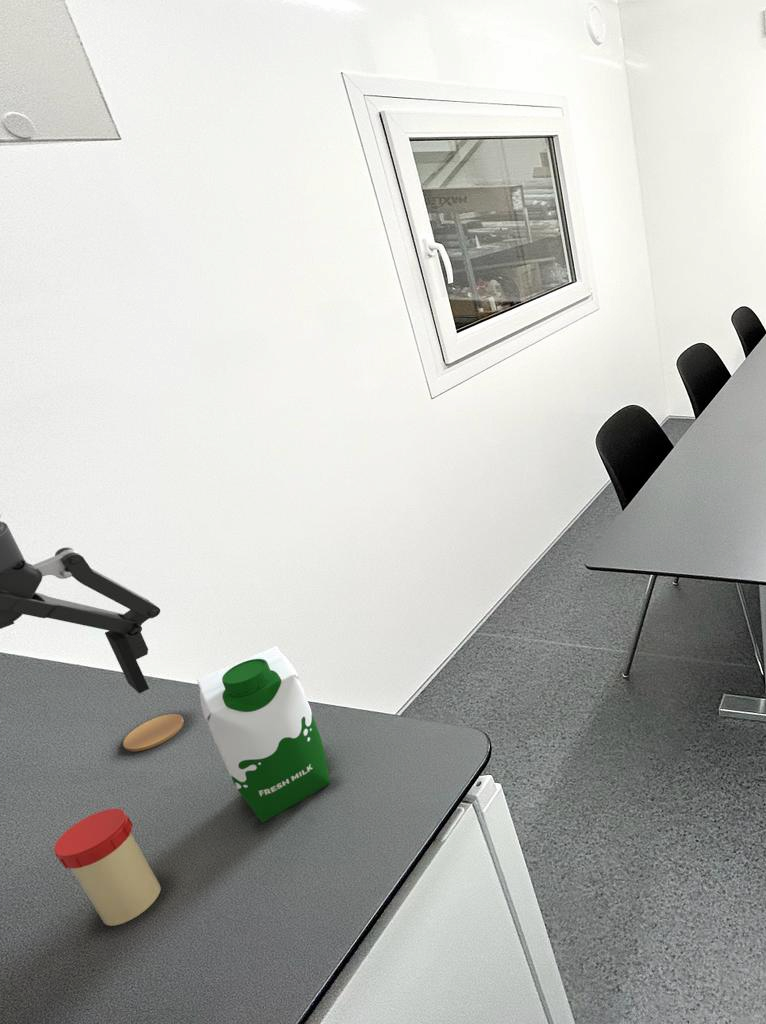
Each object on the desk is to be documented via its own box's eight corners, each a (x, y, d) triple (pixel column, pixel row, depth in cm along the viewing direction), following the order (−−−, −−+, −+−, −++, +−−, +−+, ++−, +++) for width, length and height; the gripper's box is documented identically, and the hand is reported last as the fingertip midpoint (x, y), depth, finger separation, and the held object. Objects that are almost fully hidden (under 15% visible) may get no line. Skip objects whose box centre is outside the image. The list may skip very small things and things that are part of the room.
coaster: (111, 752, 84) (109, 750, 84) (151, 717, 89) (150, 714, 89) (158, 750, 84) (156, 748, 84) (195, 715, 90) (194, 713, 90)
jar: (89, 927, 64) (45, 857, 60) (130, 882, 68) (91, 815, 65) (134, 924, 65) (93, 855, 61) (172, 880, 69) (136, 812, 65)
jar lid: (46, 870, 61) (38, 857, 60) (96, 822, 65) (89, 809, 65) (99, 867, 61) (92, 854, 60) (145, 819, 66) (139, 807, 65)
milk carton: (255, 833, 74) (197, 704, 66) (237, 789, 79) (182, 665, 72) (341, 782, 80) (297, 659, 73) (319, 744, 85) (276, 626, 78)
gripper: (123, 470, 62) (193, 640, 70) (-384, 607, 42) (-207, 826, 49) (155, 488, 59) (224, 664, 67) (-378, 645, 39) (-189, 874, 46)
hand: (41, 733), depth 58 cm, fingers open, 13 cm apart
